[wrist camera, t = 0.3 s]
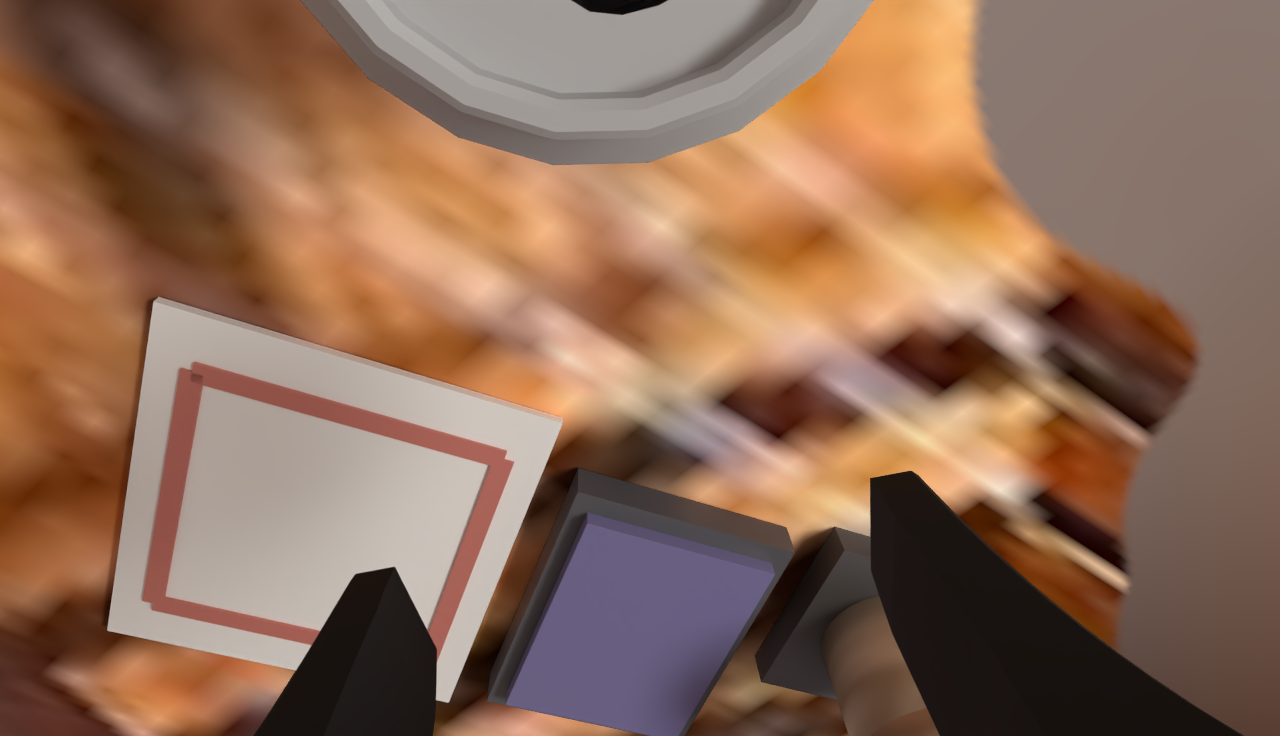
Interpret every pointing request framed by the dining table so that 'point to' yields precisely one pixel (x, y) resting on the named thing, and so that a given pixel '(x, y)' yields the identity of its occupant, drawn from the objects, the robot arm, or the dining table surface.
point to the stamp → (845, 645)
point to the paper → (310, 492)
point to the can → (589, 67)
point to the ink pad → (635, 607)
